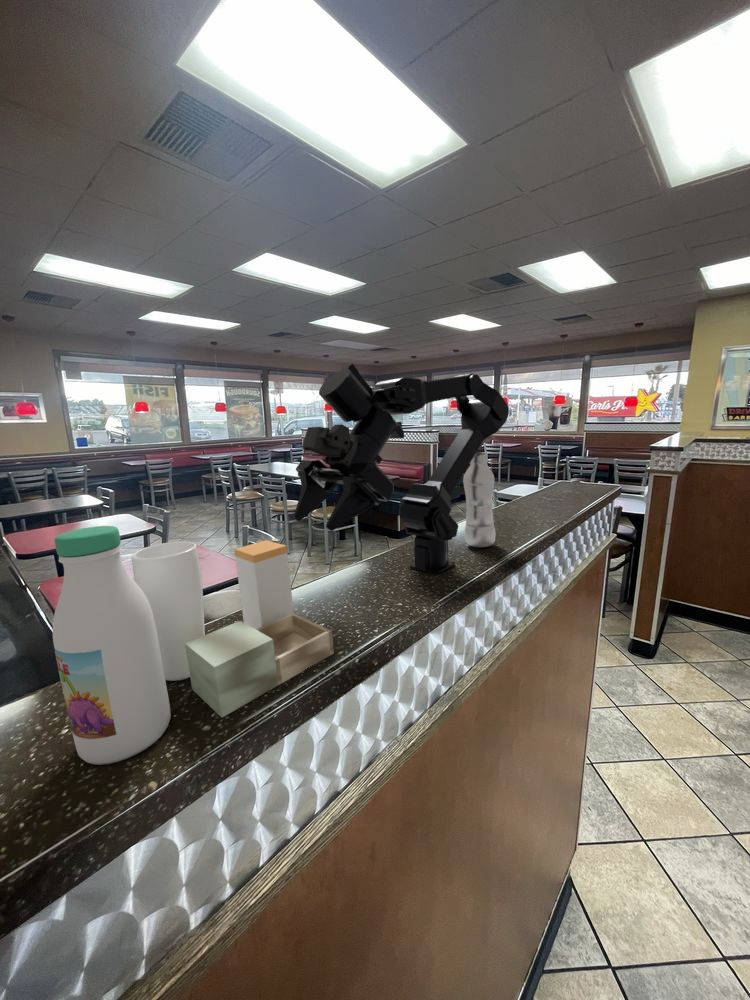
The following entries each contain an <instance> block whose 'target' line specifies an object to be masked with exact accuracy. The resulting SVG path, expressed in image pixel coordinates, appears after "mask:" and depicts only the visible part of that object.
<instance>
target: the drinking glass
mask: <svg viewBox="0 0 750 1000" xmlns="http://www.w3.org/2000/svg"><path fill="white" fill-rule="evenodd" d="M199 556H200V555H199V552H198V546H197V544H196V543H195V542H192V541H186V540H184V541H183V540H182V541H181V540H180V541H170V542H169V541H168V542H163V543H157V544H153V545H149V546H145V547H144V548H141V549H138V550H137V551H135V552H134V553H132V555H131V564H132V572H133V580H134V581H135V582H136V583H137V585H138V586H139V587H140V588H141V590H142V591H143V592H144V594H145V596H146V597H147V599H148V602H149V604H150V607H151V610H152V613H153V617H154V622H155V626H156V631H157V637H158V642H159V647H160V653H161V658H162V664H163V670H164V675H165V681H169V682H174V681H175V682H176V681H183V680H186V679H188V678H190V672H189V666H188V660H187V654H186V647H185V643H188V642H190V641H192V640H195V639H197V638H200V637H202V636H204V635H206V634H205V633H206V631H205V630H206V628H205V627H206V626H205V614H204V611H205V609H204V592H203V588H204V587H203V578H202V577H203V576H202V569H201V568H202V566H201V562H200V558H199Z"/></svg>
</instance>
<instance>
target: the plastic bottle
mask: <svg viewBox="0 0 750 1000" xmlns="http://www.w3.org/2000/svg"><path fill="white" fill-rule="evenodd" d="M488 454H489V453H488V452H485V451H484V452H482V451H481V452H476V454H475V455H474V457H473V459H472V460H471V462H470V464H469V465H470V466H468V467H467V469H466V470H465V472H464V474H463V479H462V481H463V482H462V483H463V488H464V495H465V503H466V514H465V515H466V517H465V518H466V520H465V527H464V534H463V535H464V540H465V542H466V544H467V545H468V546H470V547H473V548H486V547H487V548H488V547H491V546H493V544H494V543H495V542H496V536H497V535H496V528H495V525H494V515H493V500H494V499H493V495H494V488H495V478H496V477H495V475H494V473H493V471H492V470H491V468H490V467H489V466H488V464H487V463H488V462H489V459H488V458H489V456H488Z"/></svg>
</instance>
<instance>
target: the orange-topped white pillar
mask: <svg viewBox="0 0 750 1000" xmlns="http://www.w3.org/2000/svg"><path fill="white" fill-rule="evenodd" d="M287 547H288V546H287V545H285V544H282V543H278V542H275V541H271V540H268V539H265V540H262V541H257V542H254V543H252V544H248V545H245V546H241V547H236V548H233V550H234V557H235V566H236V567H235V568H236V573H237V581H238V589H239V596H240V603H241V610H242V611H241V612H242V621H243V622H244V623H245V624H247V625H249V626H251V627H252V628H254V629H259V628H261V627H263V626H265V625H268V624H270V623H272V622H274V621H277V620H279V619H281V618H283V617H286V616H288V615H290V614H292V613H294V604H293V602H294V601H293V594H292V585H291V574H290V567H289V557H288V548H287ZM294 614H295V613H294Z"/></svg>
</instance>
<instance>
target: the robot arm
mask: <svg viewBox="0 0 750 1000" xmlns="http://www.w3.org/2000/svg"><path fill="white" fill-rule="evenodd" d="M318 395H319V396H320V397H321V399H323V400H324V402H325V403H326V404H327V405H328V406H329V407H330V408H331V409H332V411H334V412H335V413H336V414H337V416H338V417H339V418H340V419H341V420H342V422H345V423H349V422H354V423H355V424H354V426H353V427H352V429H351V431H350V428H349V427H348V426H346V425H344V424H342V423H341V424H340V423H339V424H334V425H333V426H332V427H331V428H330V427H324V426H312V427H307V429H306V432H305V436H304V439H303V443H302V446H301V449H303V450H304V451H306V452H307V451H311V452H313V453H316V454H319V455H321V456H323V457H322V458H321V460H322V461H323V462H322V461H321V460H320V459H309V458H308V459H302V460H301V461H300V462H299V463H298V465H297V466H296V468H295V470H296V472H297V476H298V478H300V479H299V480H300V483H301V490H300V493H299V498H298V500H297V504H296V508H295V511H294V514H293V519H294V520H295V521H297V522H300V521H302V520H303V519H305V517H307V516H308V515H309V514H311V513H312V511H314V510H315V509H316V508H317V507H318V506H320V504H322V503H323V502H324V501H325V500H326V499H328V498H329V497H330V496H331V493H330V492H332V491H333V490H334V489H335V488H336V486H337V484H342V485H343V487H342V489H343V490H342V494H341V496H340V497H339V499H338V501H337V503H336V505H335V507H334V509H333V510H332V512H331V514H330V516H329V518H328V521H327V523H326V525H325V528H326V529H327V530H329V531H330V532H332V531H334V530H336V529H337V528H339V527H341V526H343V525H344V524H345V523H347V522H349V521H350V520H352V519H354V518H355V517H357V516H358V515H360V514H362V513H364V512H365V511H367V510H369V509H371V508H372V507H374V506H379V505H380V504H381V502H385V503H388V502H389V500H390V498H391V496H392V495H393V493H394V491H395V490H394V489H395V488H394V481H393V480H392V479H391V478H390V477H389V476H388V475H387V474H386V473H385V472H384V471H383V470H382V469H381V468H380V467H379V465H380V464H381V463H382V461H383V458H382V457H381V456H380V454H381V452H382V450H383V449H385V448H384V447H385V446H386V444H387V443H388V441H389V440H390V439H404V438H405V432H404V429H403V426H402V425H403V423H402V421H396V419H394V418H393V416H395V415H400V416H401V415H408V414H412V413H415V412H416V411H418V410H420V409H422V408H424V407H425V406H426V405H427V404H429V403H432V402H437V401H443V400H448V399H455V400H456V409H457V411H458V412H459V413H460V414H461V415H460V421H461V422H460V423H461V425H460V426H461V429H460V430H459V432H458V434H457V435H456V437H455V438H454V440H452V443H451V445H450V446H449V448H448V449H447V450H446V453H445V454H444V455H443V457H442V458H441V459H440V462H439V463H438V465H437V466H436V467H435V469H434V471H433V472H432V474H431V475H430V477H429V479H428V481H426V483H424V484H421V483H413V484H411V485H410V487H409V489H408V491H407V493H406V494H405V495H404V496H403V497H402V498H401V502H402V503H401V505H400V508H399V513H400V515H399V516H400V519H401V522H402V524H403V526H404V529H405V532H406V535H412V536H415V537H414V538H413V539H414V546H413V556H414V562H413V563H410V564H409V565H408V566H409V568H410V569H414V570H418V571H422V572H425V573H428V574H429V573H430V574H434V575H438V574H441V573H442V572H443V571H446V570H448V569H450V568H452V567H453V566H455V565H456V561H454V560H449V542H448V541H451V540H453V538H455V537H457V535H458V530H459V524H458V523H457V522H456V520H454V519H453V518H452V516H451V515H450V513H451V511H452V502H451V496H452V493H453V492H454V490H455V489H456V486H458V483H459V482H460V480H461V478H462V477H463V476H464V475H465V473H466V471H467V470H468V468H469V465H470V464H471V463H470V462H471V460H472V459H473V457H474V455H475V454H476V453H478V450H479V448H480V447H481V445H482V444H483V443H484V440H487V439H488V438H489V437H491V436H493V435H495V434H497V432H499V430H500V429H501V428H502V427H503V426H504V425H505V423H506V422H507V419H508V418H509V414H510V409H509V405H508V403H507V402H506V400H505V399H504V397H503V396H502V395H501V393H500V392H499V391H498V390H496V389H494V388H493V387H492V386H490V385H488V384H486V383H485V382H484V381H483V380H482V379H481V377H480V375H478V374H475V373H472V372H471V373H466V374H459V375H455V376H454V377H447V378H441V379H435V380H423V379H421V378H418V377H417V378H416V377H410V376H409V377H408V376H405V377H398V378H394V379H393V378H392V379H387V380H382V381H379V382H377V383H375V384H374V387H373V388H372V387H371V386H370V385H369V384H368V383H367V381H366V380H365V379H364V377H363V376H362V375H361V374H360V371H359V370H358V368H357V367H356V366H355V365H354V363H349V364H345V365H343V366H342V368H340V370H338V371H337V372H336V373H334V374H333V375H331V377H329V378H328V379H325V381H324V382H323V383H322V384H321V387H319V392H318ZM469 396H473V398H474V399H469ZM324 463H325V464H326V465H328V466H329V467H328V466H326V465H325V464H324Z"/></svg>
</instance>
